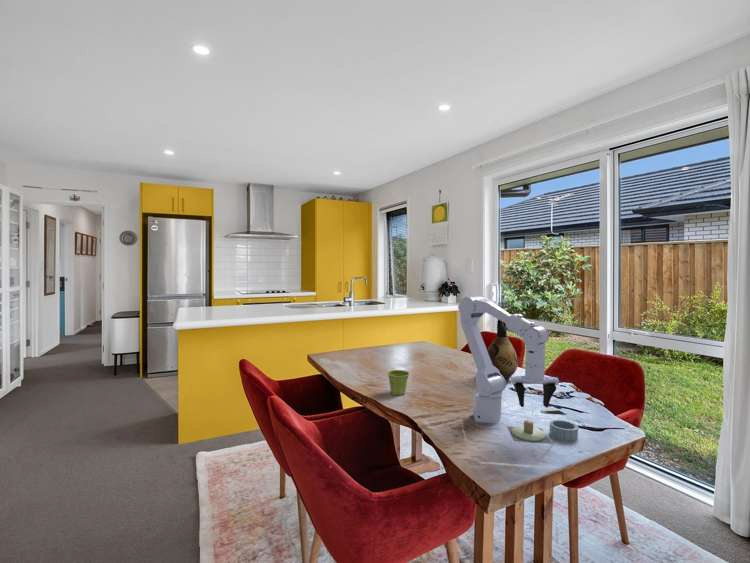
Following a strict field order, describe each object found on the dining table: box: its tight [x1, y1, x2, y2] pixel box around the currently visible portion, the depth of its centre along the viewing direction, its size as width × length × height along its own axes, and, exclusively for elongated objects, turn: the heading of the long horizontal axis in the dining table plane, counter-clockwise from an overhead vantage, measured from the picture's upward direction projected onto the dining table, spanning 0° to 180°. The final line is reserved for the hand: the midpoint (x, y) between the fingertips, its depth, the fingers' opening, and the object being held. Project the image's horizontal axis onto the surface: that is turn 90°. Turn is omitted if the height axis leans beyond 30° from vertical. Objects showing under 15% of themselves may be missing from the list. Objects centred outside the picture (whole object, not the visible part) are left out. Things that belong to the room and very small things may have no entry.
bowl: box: [548, 419, 579, 442], centre depth 128 cm, size 8×8×4 cm
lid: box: [512, 419, 546, 441], centre depth 129 cm, size 10×10×4 cm
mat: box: [506, 426, 552, 444], centre depth 129 cm, size 11×11×1 cm
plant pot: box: [386, 369, 411, 396], centre depth 170 cm, size 9×9×9 cm
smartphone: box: [540, 408, 586, 427], centre depth 145 cm, size 7×15×1 cm, turn 11°
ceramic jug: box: [487, 319, 519, 382], centre depth 194 cm, size 17×15×30 cm
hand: (533, 406), depth 129 cm, fingers open, 7 cm apart
